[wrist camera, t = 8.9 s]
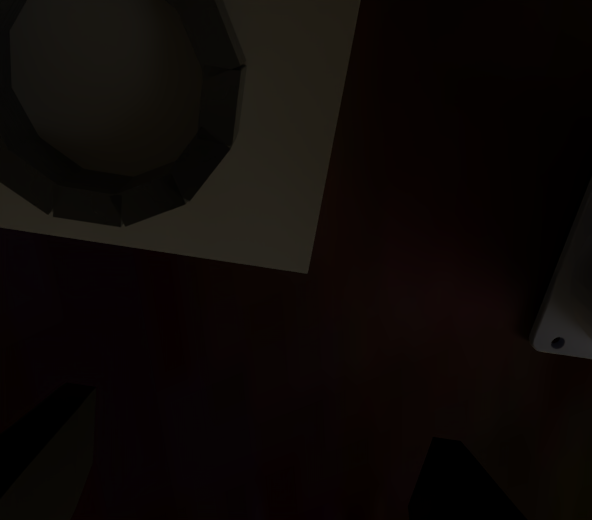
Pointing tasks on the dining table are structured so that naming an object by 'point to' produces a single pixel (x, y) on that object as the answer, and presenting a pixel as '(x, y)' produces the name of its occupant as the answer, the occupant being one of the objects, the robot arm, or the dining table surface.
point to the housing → (172, 122)
